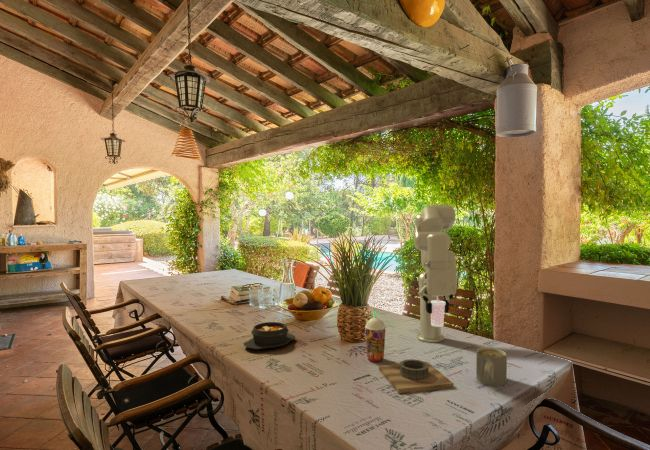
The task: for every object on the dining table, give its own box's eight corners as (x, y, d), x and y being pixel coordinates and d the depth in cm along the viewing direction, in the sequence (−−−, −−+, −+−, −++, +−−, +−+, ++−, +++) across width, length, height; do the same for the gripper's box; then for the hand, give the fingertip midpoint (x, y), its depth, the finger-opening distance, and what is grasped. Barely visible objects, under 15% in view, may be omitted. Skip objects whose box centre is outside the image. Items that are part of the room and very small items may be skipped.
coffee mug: (483, 371, 149) (483, 345, 149) (510, 379, 142) (510, 351, 142) (467, 383, 139) (467, 355, 139) (496, 392, 133) (496, 362, 132)
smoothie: (369, 364, 157) (369, 314, 156) (362, 357, 165) (361, 309, 164) (389, 362, 159) (389, 312, 158) (380, 355, 167) (380, 308, 166)
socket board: (378, 369, 152) (378, 356, 151) (427, 365, 156) (427, 352, 155) (398, 393, 132) (398, 378, 132) (453, 387, 136) (453, 373, 136)
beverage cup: (434, 328, 149) (434, 290, 148) (426, 323, 154) (426, 287, 154) (448, 326, 150) (449, 289, 150) (439, 322, 156) (439, 287, 156)
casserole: (259, 357, 166) (259, 337, 166) (235, 346, 179) (235, 328, 179) (304, 342, 184) (304, 324, 183) (279, 334, 197) (278, 317, 196)
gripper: (420, 267, 146) (420, 316, 147) (463, 266, 150) (463, 313, 150) (412, 265, 154) (412, 311, 154) (452, 263, 157) (452, 308, 158)
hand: (437, 311), depth 152 cm, fingers closed on beverage cup, 6 cm apart
